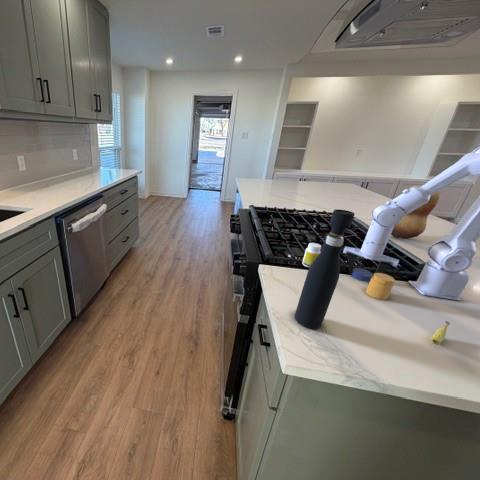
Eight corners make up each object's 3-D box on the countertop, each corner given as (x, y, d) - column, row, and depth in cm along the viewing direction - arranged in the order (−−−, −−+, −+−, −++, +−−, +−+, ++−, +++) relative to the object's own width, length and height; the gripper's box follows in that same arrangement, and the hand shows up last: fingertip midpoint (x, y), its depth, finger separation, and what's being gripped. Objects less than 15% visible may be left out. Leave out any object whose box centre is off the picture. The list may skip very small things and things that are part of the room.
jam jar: (381, 290, 81) (389, 273, 78) (391, 301, 76) (400, 282, 73) (362, 288, 82) (369, 271, 79) (371, 298, 77) (379, 280, 74)
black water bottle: (289, 312, 69) (320, 207, 57) (311, 312, 70) (346, 207, 58) (303, 329, 64) (341, 216, 52) (327, 328, 64) (370, 216, 52)
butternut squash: (411, 245, 115) (437, 191, 105) (377, 235, 126) (397, 184, 115) (423, 240, 121) (449, 188, 111) (390, 230, 132) (410, 182, 122)
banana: (436, 331, 64) (443, 319, 63) (445, 336, 63) (453, 323, 61) (426, 345, 60) (434, 332, 58) (436, 350, 59) (445, 336, 57)
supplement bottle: (318, 269, 92) (324, 248, 89) (304, 267, 93) (310, 246, 90) (313, 262, 97) (319, 243, 93) (300, 261, 97) (305, 241, 94)
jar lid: (364, 282, 85) (366, 278, 84) (346, 273, 90) (348, 269, 89) (376, 279, 87) (377, 275, 86) (358, 270, 92) (359, 266, 91)
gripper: (347, 238, 84) (335, 273, 90) (405, 252, 76) (387, 290, 81) (350, 233, 89) (338, 266, 95) (404, 245, 81) (387, 281, 86)
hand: (361, 276), depth 89 cm, fingers closed on jar lid, 6 cm apart
